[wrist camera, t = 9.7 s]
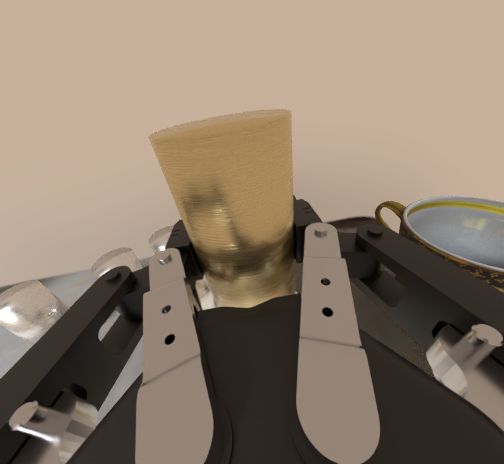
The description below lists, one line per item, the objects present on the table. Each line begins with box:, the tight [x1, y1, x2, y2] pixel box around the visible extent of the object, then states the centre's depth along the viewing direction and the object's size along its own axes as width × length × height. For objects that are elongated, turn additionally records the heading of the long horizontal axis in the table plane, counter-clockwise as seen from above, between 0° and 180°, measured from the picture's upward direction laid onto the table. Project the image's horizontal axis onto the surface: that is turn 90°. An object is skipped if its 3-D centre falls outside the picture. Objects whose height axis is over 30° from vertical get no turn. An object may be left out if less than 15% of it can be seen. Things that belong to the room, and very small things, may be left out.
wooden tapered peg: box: [149, 109, 295, 308], centre depth 10 cm, size 5×5×12 cm
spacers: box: [0, 226, 217, 345], centre depth 21 cm, size 18×12×8 cm, turn 126°
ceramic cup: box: [375, 196, 504, 292], centre depth 19 cm, size 13×10×10 cm
